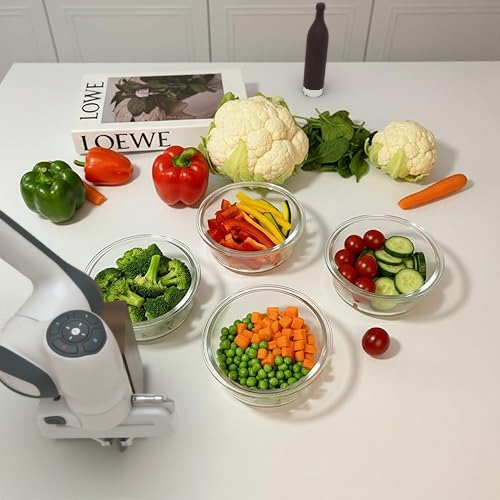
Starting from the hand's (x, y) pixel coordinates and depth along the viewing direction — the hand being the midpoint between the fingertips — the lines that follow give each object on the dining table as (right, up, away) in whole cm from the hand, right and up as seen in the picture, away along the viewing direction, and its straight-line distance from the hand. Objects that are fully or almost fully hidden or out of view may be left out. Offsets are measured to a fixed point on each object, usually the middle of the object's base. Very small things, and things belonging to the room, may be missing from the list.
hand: (117, 441), depth 88 cm
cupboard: (-7, +2, +17) cm, 18 cm away
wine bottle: (+43, +85, +99) cm, 137 cm away
